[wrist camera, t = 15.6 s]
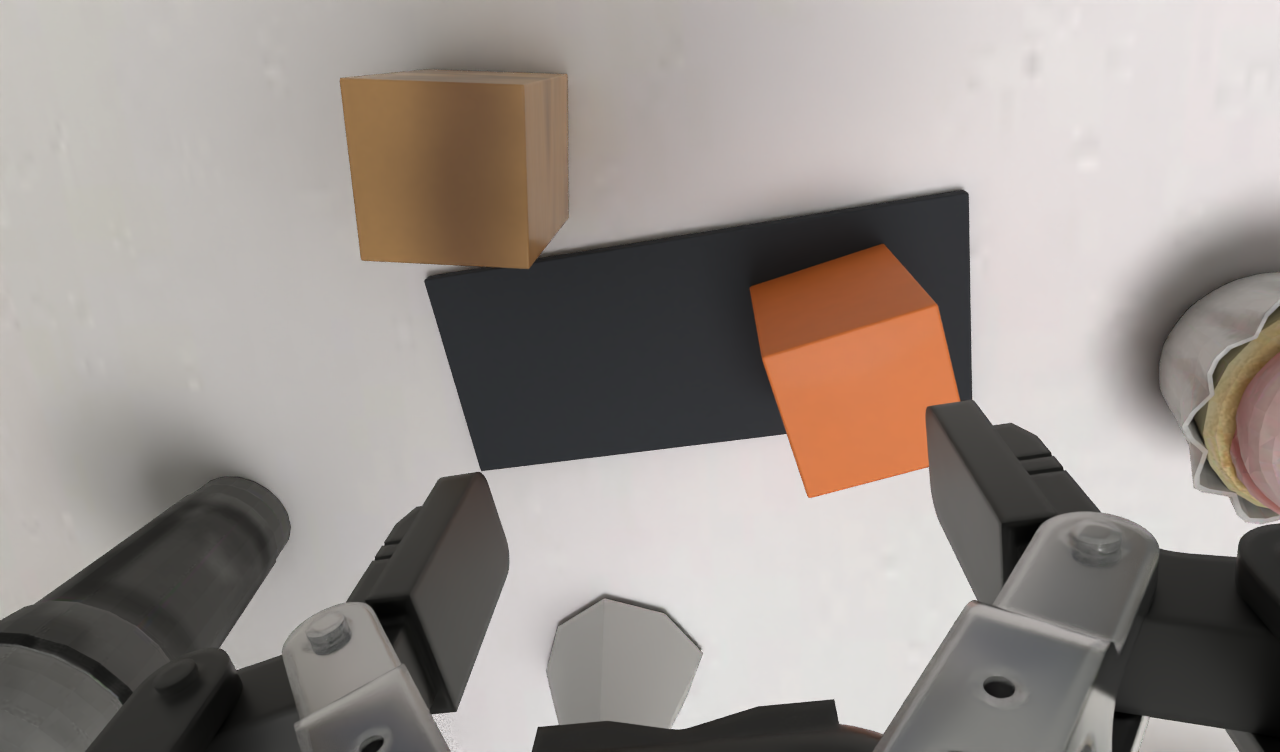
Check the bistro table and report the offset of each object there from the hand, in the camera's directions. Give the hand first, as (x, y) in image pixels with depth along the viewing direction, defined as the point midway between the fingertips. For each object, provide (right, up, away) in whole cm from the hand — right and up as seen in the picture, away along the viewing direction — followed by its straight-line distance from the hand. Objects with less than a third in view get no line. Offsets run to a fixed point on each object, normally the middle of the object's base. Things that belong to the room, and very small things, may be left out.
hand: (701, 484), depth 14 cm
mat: (+1, +3, +16) cm, 17 cm away
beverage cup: (-19, -5, +22) cm, 29 cm away
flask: (-2, -11, +23) cm, 26 cm away
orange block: (+6, +4, +15) cm, 17 cm away
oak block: (-6, +10, +14) cm, 18 cm away
